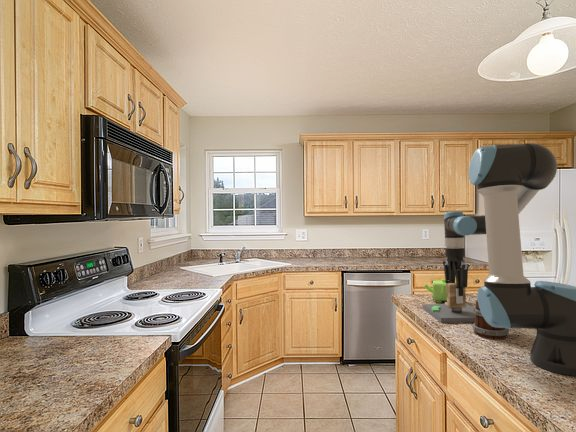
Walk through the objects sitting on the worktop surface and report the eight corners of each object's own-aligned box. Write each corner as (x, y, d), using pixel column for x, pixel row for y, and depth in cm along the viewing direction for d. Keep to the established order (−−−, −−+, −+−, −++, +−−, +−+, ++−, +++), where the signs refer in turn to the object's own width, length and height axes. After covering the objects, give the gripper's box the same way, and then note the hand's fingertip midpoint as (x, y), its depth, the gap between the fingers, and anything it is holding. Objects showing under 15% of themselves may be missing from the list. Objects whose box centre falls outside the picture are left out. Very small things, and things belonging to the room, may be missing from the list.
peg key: (467, 312, 147) (466, 284, 147) (451, 313, 147) (450, 284, 147) (453, 305, 158) (452, 279, 158) (438, 306, 158) (437, 280, 158)
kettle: (468, 302, 170) (467, 279, 170) (446, 306, 165) (445, 283, 165) (443, 296, 184) (443, 275, 184) (423, 300, 178) (422, 278, 178)
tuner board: (492, 322, 140) (491, 315, 140) (441, 323, 141) (440, 316, 141) (466, 307, 161) (466, 301, 161) (422, 308, 163) (422, 302, 163)
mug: (462, 329, 131) (467, 290, 131) (495, 332, 134) (499, 293, 134) (485, 340, 119) (491, 296, 120) (520, 343, 122) (525, 300, 123)
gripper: (476, 248, 142) (478, 306, 142) (449, 245, 158) (451, 297, 158) (460, 249, 140) (462, 307, 140) (435, 246, 156) (436, 298, 156)
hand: (456, 302), depth 149 cm, fingers closed on peg key, 3 cm apart
